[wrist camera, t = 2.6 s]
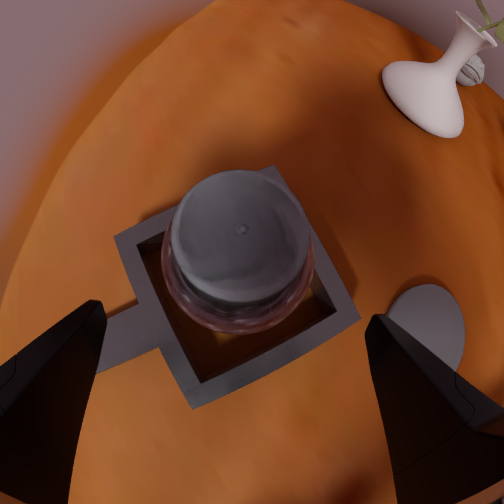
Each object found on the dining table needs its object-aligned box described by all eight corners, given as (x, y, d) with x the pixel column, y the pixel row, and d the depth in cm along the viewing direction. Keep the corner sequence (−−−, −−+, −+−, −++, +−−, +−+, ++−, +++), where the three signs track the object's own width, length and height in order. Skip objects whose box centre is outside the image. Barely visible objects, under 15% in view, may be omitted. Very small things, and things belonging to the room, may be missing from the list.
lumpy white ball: (440, 77, 29) (462, 48, 22) (442, 62, 30) (461, 36, 24) (470, 102, 28) (494, 76, 22) (470, 84, 30) (490, 60, 23)
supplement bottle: (243, 225, 20) (263, 114, 9) (296, 294, 19) (382, 251, 8) (171, 275, 19) (105, 207, 8) (224, 348, 18) (221, 383, 7)
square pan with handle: (103, 433, 15) (89, 444, 13) (44, 291, 17) (25, 286, 15) (345, 319, 19) (361, 318, 16) (269, 181, 21) (274, 164, 18)
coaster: (402, 417, 17) (407, 419, 16) (359, 323, 19) (364, 323, 18) (469, 352, 19) (475, 352, 18) (435, 266, 20) (441, 264, 20)
